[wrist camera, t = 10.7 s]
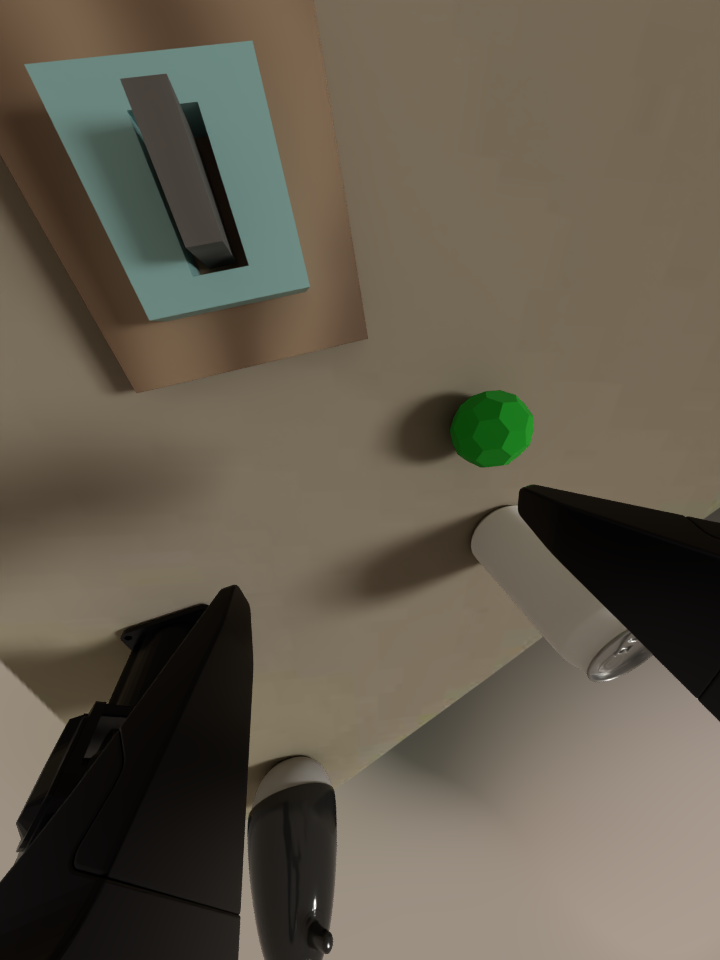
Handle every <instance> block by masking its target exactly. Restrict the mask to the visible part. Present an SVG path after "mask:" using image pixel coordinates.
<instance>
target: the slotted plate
mask: <svg viewBox="0 0 720 960" xmlns="http://www.w3.org/2000/svg"><path fill="white" fill-rule="evenodd" d="M24 65H25V67H26V69H27V71H28V73H29V75H30V77H31V80H32V82H33V84H34V86H35V88H36V90H37V92H38V94H39V96H40V98H41V100H42V102H43V104H44V106H45V108H46V110H47V112H48V114H49V116H50V118H51V120H52V122H53V124H54V127H55V129H56V131H57V133H58V135H59V137H60V139H61V141H62V143H63V145H64V147H65V149H66V151H67V153H68V155H69V157H70V159H71V161H72V163H73V165H74V167H75V169H76V172H77V174H78V176H79V178H80V180H81V182H82V184H83V186H84V188H85V190H86V192H87V194H88V196H89V198H90V200H91V202H92V204H93V206H94V208H95V210H96V212H97V214H98V216H99V219H100V221H101V223H102V225H103V227H104V229H105V231H106V233H107V235H108V237H109V239H110V241H111V243H112V245H113V247H114V249H115V251H116V253H117V255H118V257H119V259H120V261H121V264H122V266H123V268H124V270H125V272H126V274H127V276H128V278H129V280H130V282H131V284H132V286H133V288H134V290H135V292H136V294H137V296H138V298H139V300H140V302H141V304H142V306H143V308H144V311H145V313H146V315H147V317H148V319H149V321H170V320H175V319H180V318H185V317H189V316H194V315H199V314H203V313H208V312H213V311H217V310H222V309H227V308H232V307H236V306H241V305H246V304H250V303H255V302H260V301H265V300H269V299H274V298H279V297H283V296H288V295H293V294H297V293H302V292H306V291H307V290H308V289H309V288H310V284H309V280H308V276H307V271H306V267H305V263H304V259H303V254H302V250H301V246H300V241H299V237H298V233H297V229H296V224H295V220H294V216H293V212H292V207H291V203H290V199H289V194H288V190H287V186H286V182H285V177H284V173H283V169H282V165H281V160H280V156H279V152H278V147H277V143H276V139H275V135H274V130H273V126H272V122H271V118H270V113H269V109H268V105H267V100H266V96H265V92H264V88H263V83H262V79H261V75H260V71H259V66H258V62H257V58H256V53H255V49H254V45H253V41H243V42H234V43H224V44H215V45H205V46H195V47H186V48H176V49H167V50H157V51H148V52H138V53H128V54H119V55H109V56H100V57H90V58H80V59H71V60H61V61H52V62H42V63H32V64H24ZM158 74H167V76H168V78H169V80H170V82H171V85H172V87H173V89H174V92H175V94H176V96H177V98H178V101H179V103H180V105H181V108H182V110H183V112H184V115H185V117H186V119H187V121H188V124H189V126H190V128H191V131H192V133H193V135H194V137H195V138H200V137H207V136H209V140H210V143H211V146H212V149H213V152H214V156H215V159H216V162H217V165H218V168H219V172H220V175H221V178H222V181H223V184H224V188H225V191H226V194H227V197H228V200H229V204H230V207H231V210H232V213H233V216H234V220H235V223H236V226H237V229H238V232H239V236H240V239H241V242H242V245H243V248H244V252H245V255H246V258H247V261H248V264H249V266H245V267H240V268H235V269H229V270H224V271H219V272H214V273H209V274H204V275H200V272H199V270H198V267H197V265H196V262H195V259H194V257H193V254H192V253H191V252H190V251H189V250H188V249H187V248H186V247H185V245H184V242H183V240H182V237H181V235H180V232H179V229H178V227H177V224H176V222H175V219H174V217H173V214H172V211H171V209H170V206H169V204H168V201H167V199H166V196H165V193H164V191H163V188H162V186H161V183H160V181H159V178H158V175H157V173H156V170H155V168H154V165H153V163H152V160H151V158H150V155H149V152H148V150H147V147H146V145H145V142H144V140H143V137H142V134H141V132H140V129H139V127H138V124H137V122H136V119H135V116H134V114H133V111H132V109H131V106H130V104H129V101H128V99H127V96H126V93H125V91H124V88H123V86H122V83H121V81H120V79H122V78H131V77H140V76H149V75H158Z"/></svg>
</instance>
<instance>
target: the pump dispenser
mask: <svg viewBox="0 0 720 960" xmlns="http://www.w3.org/2000/svg"><path fill="white" fill-rule="evenodd" d="M336 820H337V819H336V800H335V792H334V789H333V787H332V786H331V784H330V781H329V778H328V775H327V773H326V771H325V770H324V768H323V767H322V766H321V764H320V763H318V762H317V761H316V760H314V759H312V758H308V757H293V758H290V759H287V760H284V761H282V762H280V763H279V764H277V765H276V766H274V767H273V768H272V769H271V770H270V771H269V772H268V773H267V774H266V775H265V777H264V778H263V780H262V781H261V783H260V785H259V787H258V789H257V791H256V794H255V798H254V801H253V805H252V810H251V812H250V813H249V816H248V833H247V834H248V835H247V837H248V860H249V874H250V884H251V893H252V899H253V907H254V914H255V920H256V926H257V931H258V936H259V941H260V945H261V949H262V953H263V956H264V960H322V959H323V956H324V954H328V953H329V952H330V951H331V949H332V946H333V937H332V934H331V933H330V932H329V929H330V922H331V916H332V907H333V898H334V886H335V872H336V851H337V821H336Z"/></svg>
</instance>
